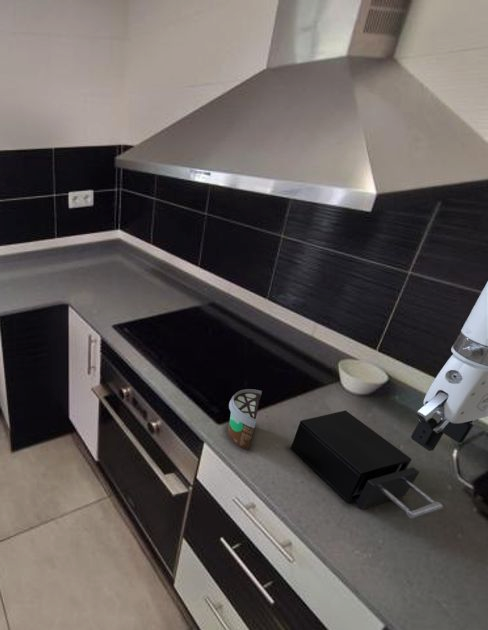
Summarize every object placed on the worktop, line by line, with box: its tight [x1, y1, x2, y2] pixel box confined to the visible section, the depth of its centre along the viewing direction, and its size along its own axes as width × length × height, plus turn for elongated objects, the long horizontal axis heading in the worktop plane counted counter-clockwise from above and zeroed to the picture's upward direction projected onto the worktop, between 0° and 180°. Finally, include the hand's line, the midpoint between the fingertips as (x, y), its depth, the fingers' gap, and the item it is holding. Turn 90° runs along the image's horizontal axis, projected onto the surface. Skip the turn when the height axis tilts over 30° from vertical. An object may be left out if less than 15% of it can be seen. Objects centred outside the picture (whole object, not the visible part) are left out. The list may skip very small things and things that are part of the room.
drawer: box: [353, 464, 444, 520], centre depth 76 cm, size 20×11×7 cm, turn 15°
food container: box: [227, 388, 263, 451], centre depth 90 cm, size 12×6×10 cm, turn 150°
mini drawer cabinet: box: [290, 410, 412, 504], centre depth 81 cm, size 15×13×9 cm
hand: (436, 439), depth 64 cm, fingers open, 5 cm apart
